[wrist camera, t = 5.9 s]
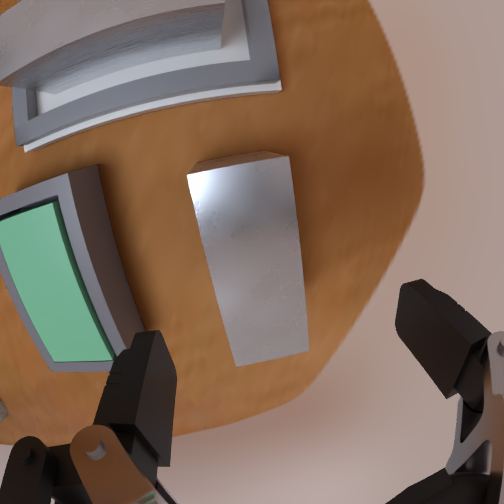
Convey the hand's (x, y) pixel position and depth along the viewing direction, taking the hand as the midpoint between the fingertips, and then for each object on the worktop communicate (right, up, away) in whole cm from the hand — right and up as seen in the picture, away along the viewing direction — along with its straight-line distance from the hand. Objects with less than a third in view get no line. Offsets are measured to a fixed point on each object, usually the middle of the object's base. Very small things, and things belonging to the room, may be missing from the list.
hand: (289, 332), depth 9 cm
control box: (-13, +2, +8) cm, 16 cm away
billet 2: (-2, +4, +9) cm, 10 cm away
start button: (-13, +1, +6) cm, 14 cm away
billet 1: (-8, +14, +3) cm, 17 cm away
